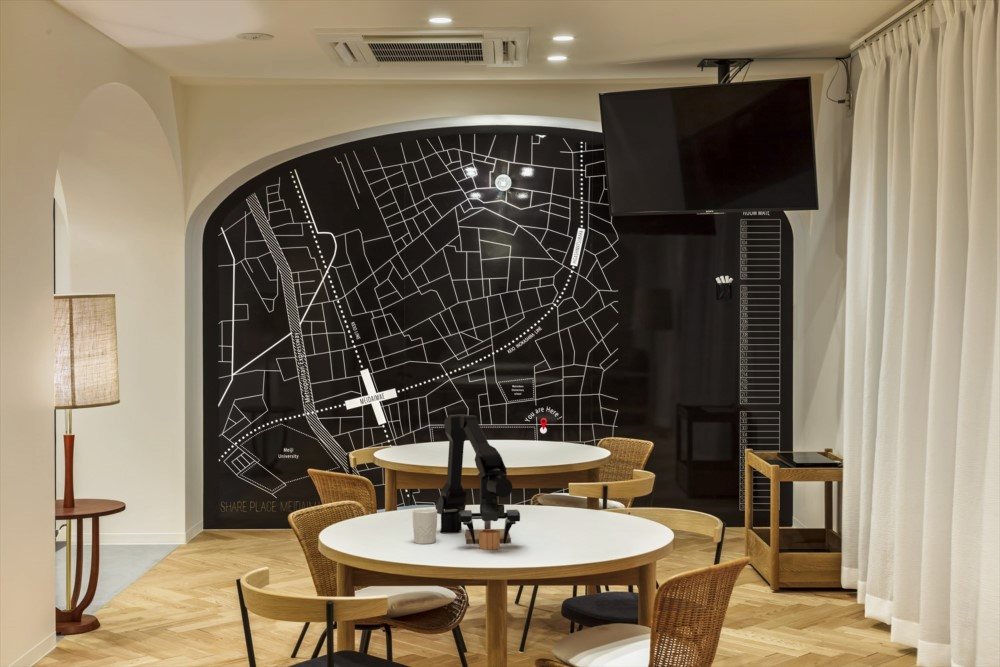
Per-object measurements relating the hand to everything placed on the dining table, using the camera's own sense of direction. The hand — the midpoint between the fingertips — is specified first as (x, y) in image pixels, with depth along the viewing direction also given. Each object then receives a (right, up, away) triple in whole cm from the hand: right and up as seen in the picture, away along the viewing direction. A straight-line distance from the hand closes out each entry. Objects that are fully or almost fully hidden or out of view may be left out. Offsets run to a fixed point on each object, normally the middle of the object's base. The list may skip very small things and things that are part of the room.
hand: (489, 544), depth 297 cm
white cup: (-21, -2, +9) cm, 22 cm away
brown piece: (-1, -1, +14) cm, 14 cm away
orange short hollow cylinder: (0, -1, 0) cm, 1 cm away
